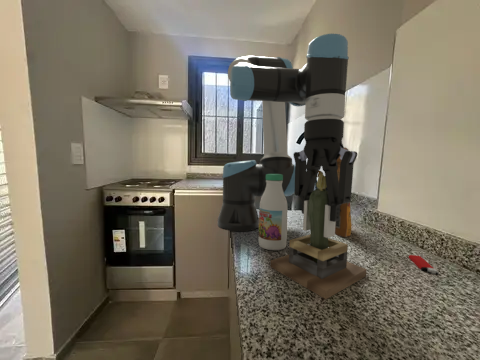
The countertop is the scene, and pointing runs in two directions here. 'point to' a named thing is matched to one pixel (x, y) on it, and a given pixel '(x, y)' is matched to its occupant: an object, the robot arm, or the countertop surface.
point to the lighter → (422, 264)
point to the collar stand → (319, 266)
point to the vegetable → (318, 214)
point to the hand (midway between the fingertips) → (318, 232)
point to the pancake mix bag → (343, 213)
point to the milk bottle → (273, 215)
